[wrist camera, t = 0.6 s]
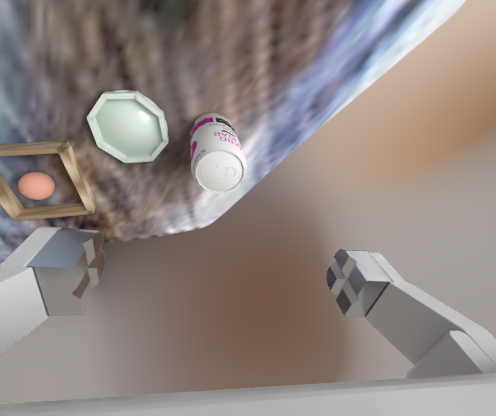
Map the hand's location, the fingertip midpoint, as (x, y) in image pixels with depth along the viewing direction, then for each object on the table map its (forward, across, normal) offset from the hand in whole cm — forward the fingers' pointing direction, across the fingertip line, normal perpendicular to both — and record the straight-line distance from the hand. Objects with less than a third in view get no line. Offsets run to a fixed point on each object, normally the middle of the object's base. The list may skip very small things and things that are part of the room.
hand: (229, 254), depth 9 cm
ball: (+38, +29, +20) cm, 51 cm away
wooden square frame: (+40, +29, +20) cm, 53 cm away
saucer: (+40, +13, +7) cm, 43 cm away
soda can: (+41, -1, +6) cm, 42 cm away
